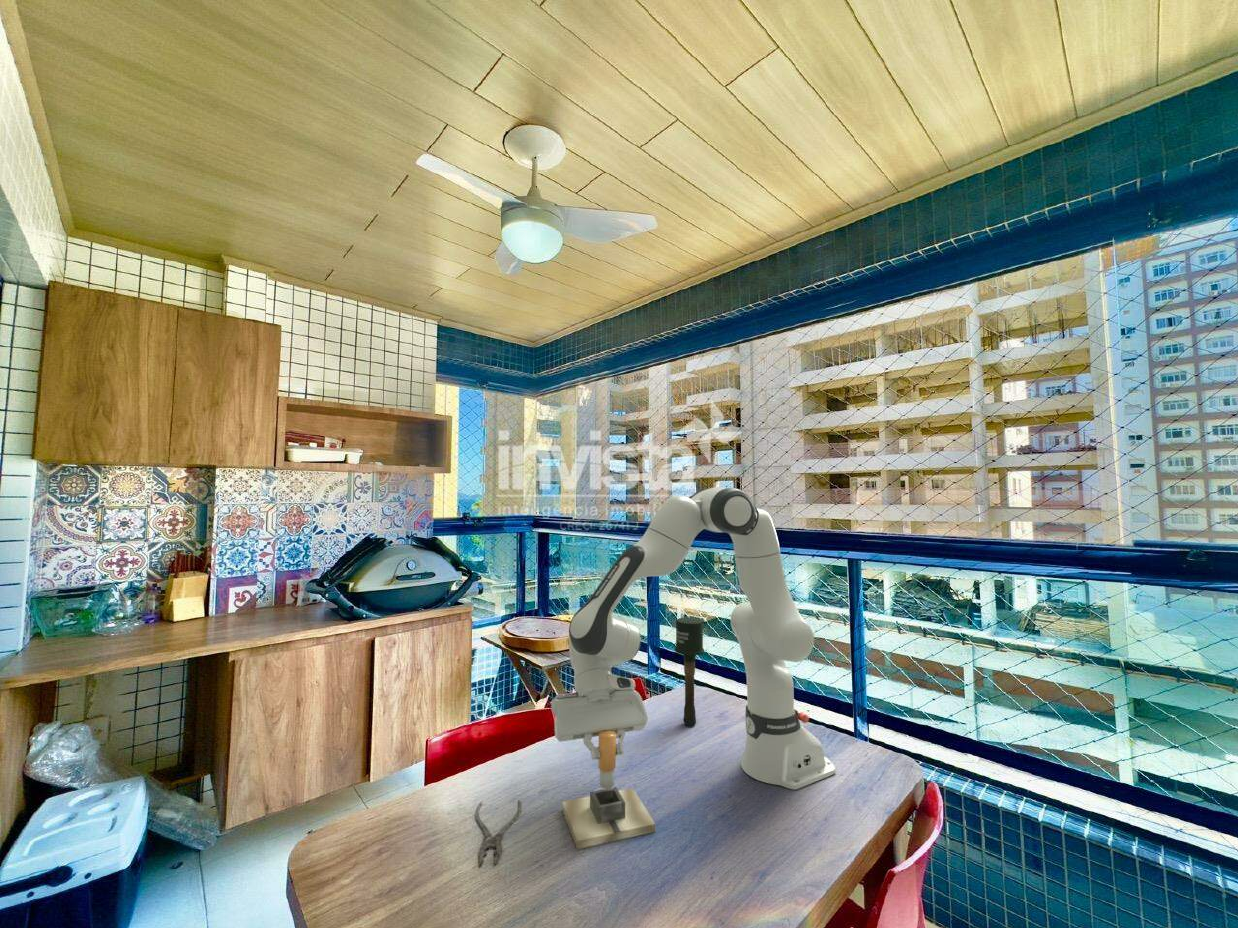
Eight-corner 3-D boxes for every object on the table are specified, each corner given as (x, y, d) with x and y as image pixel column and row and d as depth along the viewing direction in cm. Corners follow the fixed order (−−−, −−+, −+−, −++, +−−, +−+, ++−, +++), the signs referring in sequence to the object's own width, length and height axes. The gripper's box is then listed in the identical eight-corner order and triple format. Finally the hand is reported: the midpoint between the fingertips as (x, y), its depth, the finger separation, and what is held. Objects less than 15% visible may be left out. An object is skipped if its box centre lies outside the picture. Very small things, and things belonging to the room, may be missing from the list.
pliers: (520, 794, 112) (533, 854, 93) (520, 798, 112) (533, 859, 93) (474, 802, 109) (478, 866, 90) (474, 806, 109) (478, 871, 90)
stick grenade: (673, 717, 152) (673, 616, 154) (702, 718, 152) (702, 616, 154) (676, 730, 144) (675, 623, 146) (706, 731, 144) (706, 623, 145)
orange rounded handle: (612, 777, 107) (612, 729, 108) (617, 787, 104) (618, 736, 104) (595, 780, 106) (596, 731, 106) (600, 790, 102) (601, 739, 103)
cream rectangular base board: (632, 794, 113) (632, 773, 113) (655, 831, 101) (655, 807, 101) (562, 808, 108) (562, 786, 108) (577, 849, 96) (577, 824, 96)
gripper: (552, 688, 109) (561, 758, 99) (640, 678, 116) (657, 743, 106) (547, 702, 113) (555, 770, 103) (633, 691, 120) (649, 754, 110)
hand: (608, 756), depth 104 cm, fingers closed on orange rounded handle, 4 cm apart
